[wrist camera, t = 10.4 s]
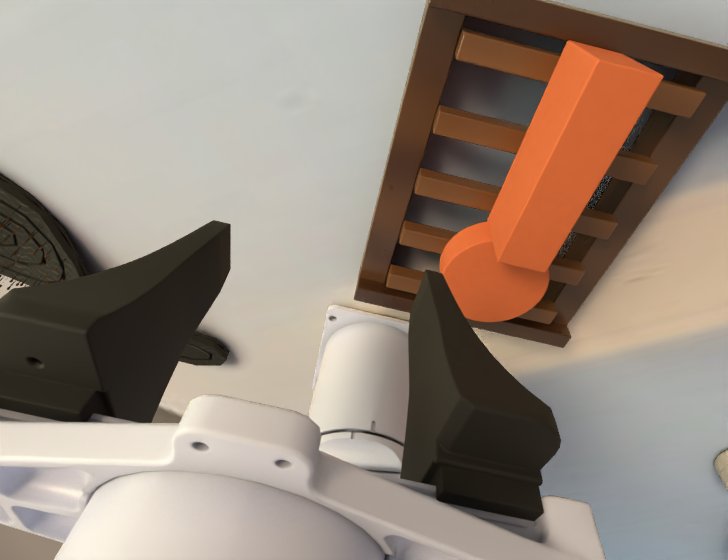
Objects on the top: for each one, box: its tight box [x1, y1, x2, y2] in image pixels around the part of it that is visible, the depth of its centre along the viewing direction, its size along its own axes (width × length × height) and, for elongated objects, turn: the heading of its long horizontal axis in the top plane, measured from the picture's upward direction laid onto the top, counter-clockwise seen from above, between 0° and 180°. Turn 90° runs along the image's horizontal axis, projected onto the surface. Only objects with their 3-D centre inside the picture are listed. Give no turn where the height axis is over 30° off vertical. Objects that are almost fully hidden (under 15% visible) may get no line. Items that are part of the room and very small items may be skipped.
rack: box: [354, 0, 728, 348], centre depth 21 cm, size 16×13×3 cm
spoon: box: [440, 40, 663, 322], centre depth 19 cm, size 13×5×4 cm, turn 168°
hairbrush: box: [0, 175, 229, 365], centre depth 28 cm, size 8×4×25 cm
